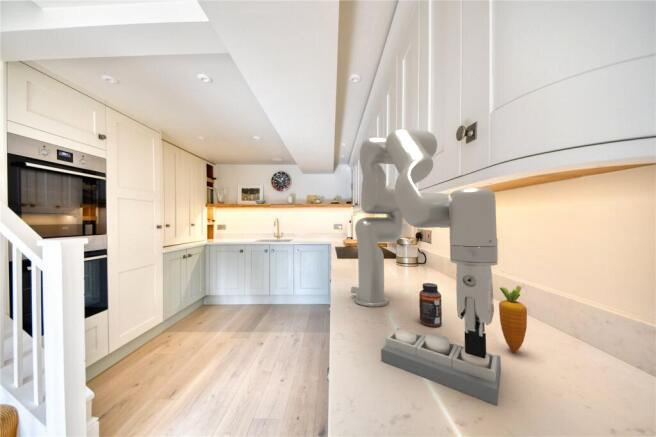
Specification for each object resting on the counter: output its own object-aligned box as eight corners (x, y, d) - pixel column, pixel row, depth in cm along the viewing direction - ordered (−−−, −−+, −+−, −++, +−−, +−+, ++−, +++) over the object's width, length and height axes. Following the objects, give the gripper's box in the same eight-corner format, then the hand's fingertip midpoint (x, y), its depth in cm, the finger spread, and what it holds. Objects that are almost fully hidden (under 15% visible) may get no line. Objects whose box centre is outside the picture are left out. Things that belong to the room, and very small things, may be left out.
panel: (381, 360, 50) (381, 340, 50) (402, 338, 59) (402, 322, 59) (497, 405, 37) (496, 378, 37) (500, 368, 47) (500, 347, 47)
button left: (392, 343, 51) (392, 334, 51) (400, 336, 55) (399, 327, 55) (412, 350, 49) (412, 340, 49) (419, 342, 52) (419, 332, 52)
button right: (459, 365, 43) (459, 354, 43) (463, 355, 47) (463, 345, 47) (488, 375, 40) (487, 363, 40) (490, 363, 44) (490, 352, 44)
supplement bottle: (444, 328, 65) (443, 287, 65) (421, 327, 66) (421, 286, 66) (438, 320, 71) (438, 282, 71) (418, 318, 72) (417, 281, 72)
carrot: (498, 352, 52) (496, 285, 53) (502, 344, 56) (500, 281, 56) (527, 361, 49) (524, 289, 49) (529, 352, 53) (527, 285, 53)
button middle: (422, 349, 47) (422, 339, 47) (429, 341, 51) (429, 331, 51) (446, 357, 45) (446, 346, 45) (451, 347, 48) (451, 337, 48)
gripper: (494, 261, 36) (498, 384, 35) (499, 252, 47) (502, 344, 47) (441, 257, 40) (443, 366, 40) (457, 250, 52) (460, 333, 52)
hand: (475, 354), depth 43 cm, fingers closed
